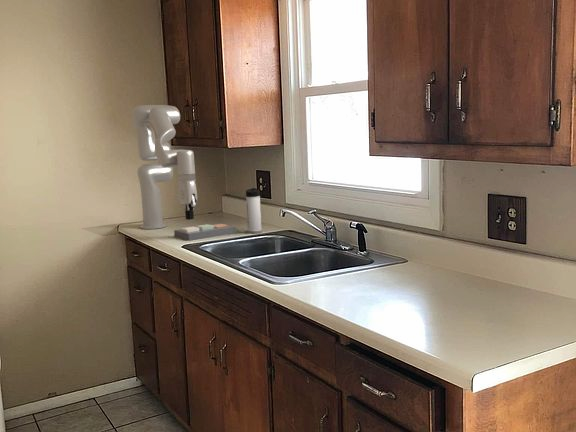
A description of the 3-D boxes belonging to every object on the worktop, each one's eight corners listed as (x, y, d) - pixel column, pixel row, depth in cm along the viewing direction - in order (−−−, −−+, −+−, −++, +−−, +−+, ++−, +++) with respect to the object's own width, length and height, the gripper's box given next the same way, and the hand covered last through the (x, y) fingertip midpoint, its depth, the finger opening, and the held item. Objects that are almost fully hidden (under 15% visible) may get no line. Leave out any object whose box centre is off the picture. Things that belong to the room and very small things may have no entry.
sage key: (196, 231, 297) (195, 226, 297) (207, 229, 300) (207, 224, 300) (202, 232, 292) (202, 227, 292) (214, 230, 296) (213, 225, 295)
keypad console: (174, 236, 295) (174, 230, 295) (220, 229, 309) (219, 223, 309) (189, 240, 284) (188, 233, 284) (236, 233, 298) (235, 226, 298)
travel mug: (262, 230, 301) (260, 187, 298) (260, 233, 295) (258, 189, 292) (249, 231, 302) (246, 188, 299) (246, 233, 295) (244, 189, 292)
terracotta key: (210, 230, 302) (210, 225, 301) (222, 228, 305) (221, 223, 305) (217, 232, 297) (217, 227, 296) (228, 230, 300) (228, 225, 300)
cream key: (181, 233, 292) (180, 228, 292) (193, 231, 296) (192, 226, 296) (187, 235, 288) (187, 229, 287) (199, 233, 291) (199, 227, 291)
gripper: (171, 178, 292) (174, 218, 294) (187, 179, 280) (190, 221, 282) (186, 176, 296) (189, 216, 299) (202, 178, 284) (205, 219, 287)
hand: (189, 219), depth 291 cm, fingers closed
